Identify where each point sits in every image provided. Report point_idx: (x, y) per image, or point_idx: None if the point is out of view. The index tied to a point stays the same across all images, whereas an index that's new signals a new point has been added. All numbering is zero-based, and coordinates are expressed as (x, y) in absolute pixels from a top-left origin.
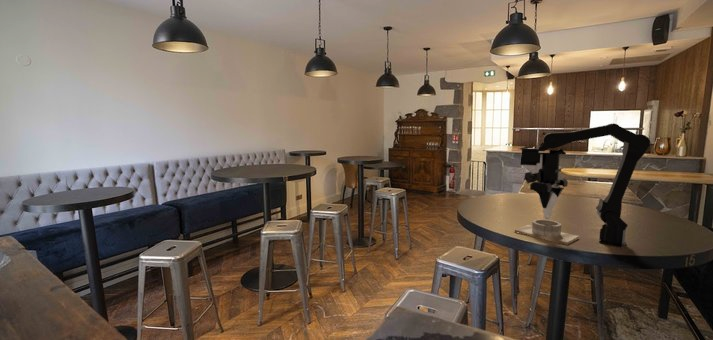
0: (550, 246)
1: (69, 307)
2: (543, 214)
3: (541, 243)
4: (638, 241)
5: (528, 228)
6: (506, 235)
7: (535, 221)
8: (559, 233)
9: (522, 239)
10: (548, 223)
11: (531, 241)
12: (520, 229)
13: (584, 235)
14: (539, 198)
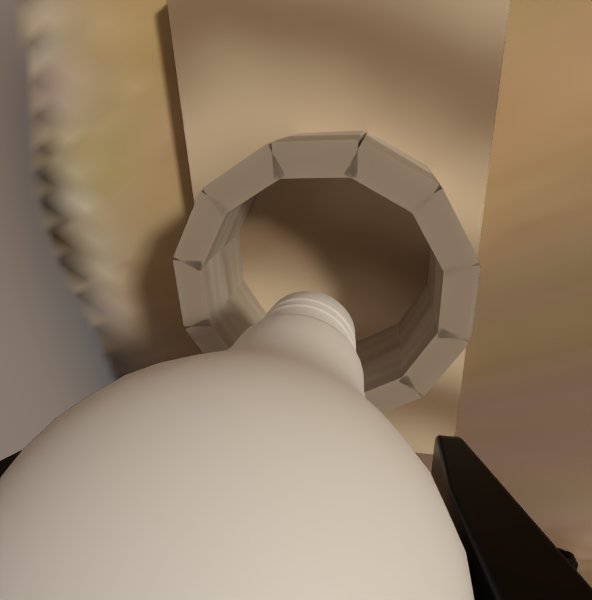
0: (117, 365)
1: None
2: (276, 308)
3: (117, 307)
4: None
5: (344, 61)
6: (25, 7)
7: (267, 185)
8: None
9: (68, 173)
10: (437, 265)
11: (91, 243)
12: (232, 22)
13: (583, 449)
14: (49, 428)
